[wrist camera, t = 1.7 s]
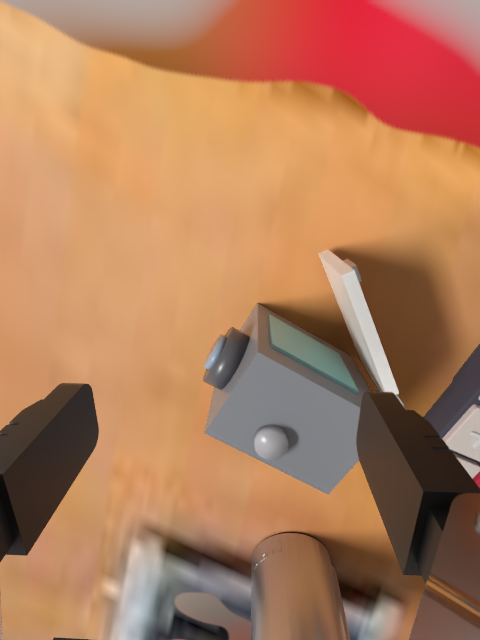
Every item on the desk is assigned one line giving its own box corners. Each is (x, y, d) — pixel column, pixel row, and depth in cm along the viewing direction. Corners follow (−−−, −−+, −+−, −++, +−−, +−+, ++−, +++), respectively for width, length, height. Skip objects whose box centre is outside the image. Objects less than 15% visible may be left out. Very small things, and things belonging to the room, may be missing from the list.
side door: (371, 340, 30) (409, 389, 23) (354, 347, 30) (387, 397, 23) (336, 245, 27) (366, 265, 20) (318, 253, 28) (341, 275, 20)
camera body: (366, 348, 31) (419, 422, 21) (314, 414, 34) (339, 508, 24) (247, 279, 30) (242, 324, 20) (202, 354, 32) (177, 428, 22)
